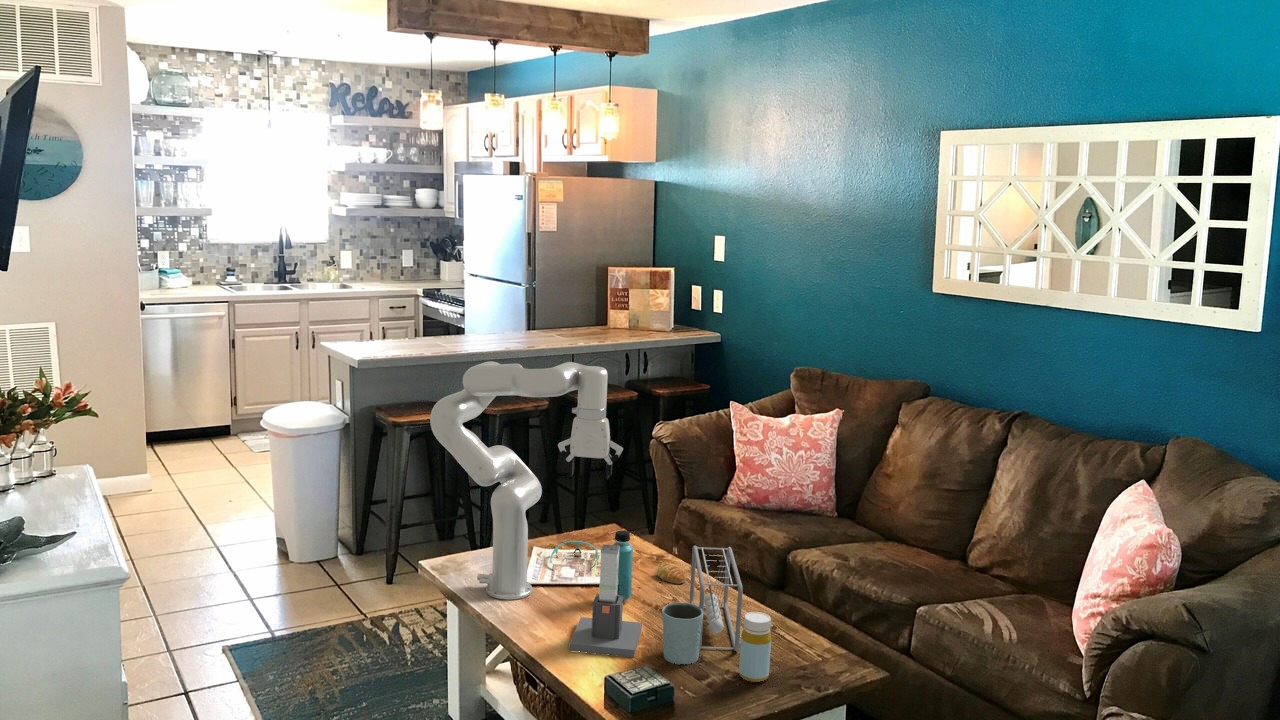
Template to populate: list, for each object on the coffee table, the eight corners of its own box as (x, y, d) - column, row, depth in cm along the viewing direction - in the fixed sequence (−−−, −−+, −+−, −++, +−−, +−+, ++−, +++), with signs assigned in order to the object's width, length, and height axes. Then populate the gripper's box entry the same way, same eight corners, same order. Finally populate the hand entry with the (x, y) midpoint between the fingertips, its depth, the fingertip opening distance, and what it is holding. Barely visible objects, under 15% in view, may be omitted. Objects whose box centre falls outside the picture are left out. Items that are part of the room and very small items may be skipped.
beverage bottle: (632, 597, 292) (635, 528, 288) (630, 607, 285) (633, 536, 282) (609, 595, 292) (612, 526, 289) (606, 605, 286) (609, 534, 282)
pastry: (692, 582, 305) (692, 569, 305) (674, 587, 301) (675, 574, 300) (671, 572, 312) (671, 559, 312) (653, 576, 308) (654, 564, 307)
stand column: (598, 607, 261) (600, 550, 258) (600, 600, 265) (603, 544, 262) (615, 609, 260) (617, 551, 258) (617, 602, 265) (619, 545, 262)
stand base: (569, 651, 257) (570, 609, 255) (580, 624, 273) (581, 584, 271) (634, 657, 256) (636, 615, 254) (641, 629, 271) (643, 589, 269)
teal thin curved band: (600, 557, 322) (601, 542, 321) (594, 580, 308) (594, 564, 306) (555, 553, 323) (555, 538, 322) (546, 576, 309) (546, 561, 307)
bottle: (736, 669, 252) (740, 610, 249) (765, 669, 252) (769, 611, 250) (741, 683, 245) (745, 623, 242) (771, 683, 246) (775, 623, 243)
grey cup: (687, 670, 251) (690, 622, 248) (651, 658, 256) (654, 611, 254) (708, 654, 259) (710, 608, 257) (672, 643, 264) (675, 598, 262)
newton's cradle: (689, 604, 289) (692, 542, 286) (727, 605, 289) (730, 544, 286) (696, 653, 260) (700, 585, 257) (738, 655, 260) (743, 587, 257)
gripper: (556, 414, 273) (554, 478, 276) (622, 419, 271) (619, 483, 274) (561, 408, 280) (559, 470, 283) (626, 412, 278) (623, 475, 281)
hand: (589, 476), depth 278 cm, fingers open, 9 cm apart
